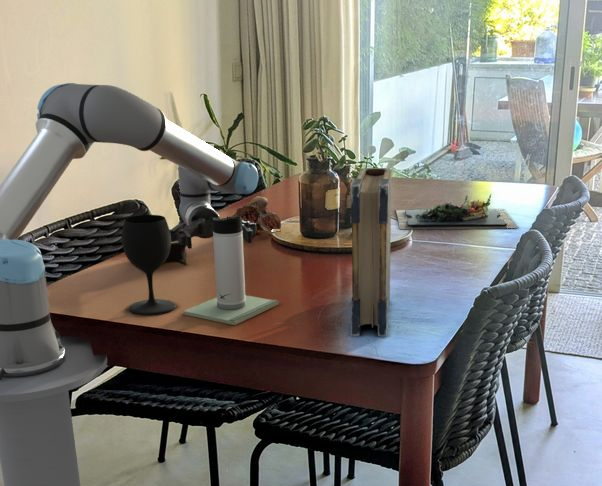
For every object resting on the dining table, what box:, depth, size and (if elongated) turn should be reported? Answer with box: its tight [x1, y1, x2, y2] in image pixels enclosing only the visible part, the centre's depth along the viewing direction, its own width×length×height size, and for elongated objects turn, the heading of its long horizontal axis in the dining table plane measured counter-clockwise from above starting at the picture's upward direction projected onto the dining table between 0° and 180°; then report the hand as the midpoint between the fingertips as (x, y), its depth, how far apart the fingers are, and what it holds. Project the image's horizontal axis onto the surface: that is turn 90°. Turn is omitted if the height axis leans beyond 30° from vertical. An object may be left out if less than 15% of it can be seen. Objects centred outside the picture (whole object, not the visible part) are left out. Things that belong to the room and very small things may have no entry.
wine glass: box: [121, 214, 177, 316], centre depth 188 cm, size 10×10×20 cm
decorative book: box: [349, 167, 392, 338], centre depth 177 cm, size 23×7×30 cm, turn 172°
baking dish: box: [164, 240, 188, 266], centre depth 226 cm, size 14×18×10 cm
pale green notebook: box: [182, 294, 280, 326], centre depth 189 cm, size 16×14×1 cm
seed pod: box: [232, 195, 282, 234], centre depth 253 cm, size 13×16×15 cm
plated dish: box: [395, 193, 518, 230], centre depth 267 cm, size 35×28×7 cm
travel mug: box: [212, 216, 246, 310], centre depth 185 cm, size 6×7×20 cm
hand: (220, 240), depth 193 cm, fingers open, 13 cm apart
